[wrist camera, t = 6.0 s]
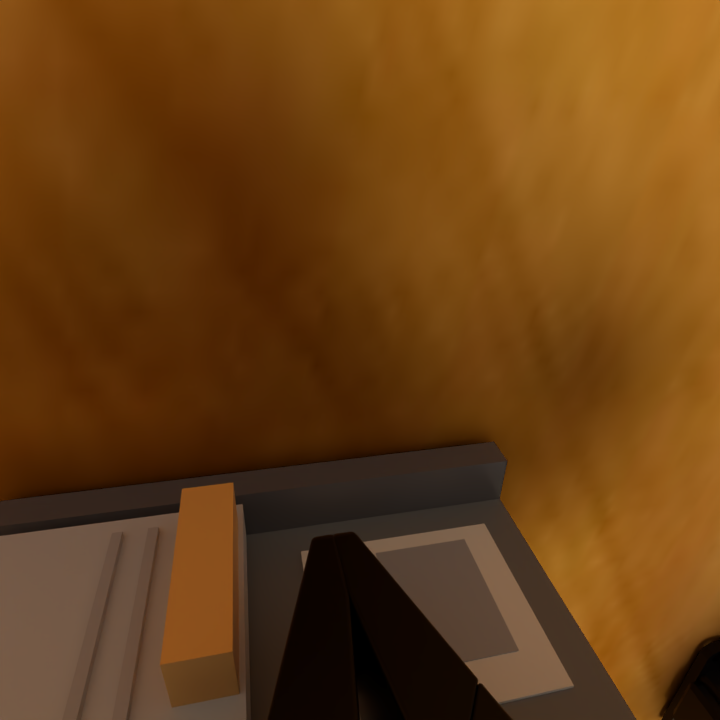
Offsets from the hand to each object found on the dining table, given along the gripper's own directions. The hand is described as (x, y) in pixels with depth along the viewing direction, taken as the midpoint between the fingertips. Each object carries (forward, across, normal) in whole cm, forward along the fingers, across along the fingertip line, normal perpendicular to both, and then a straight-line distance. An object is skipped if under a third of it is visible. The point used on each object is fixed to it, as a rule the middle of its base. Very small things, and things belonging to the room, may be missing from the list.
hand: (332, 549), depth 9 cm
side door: (+2, +5, +1) cm, 5 cm away
